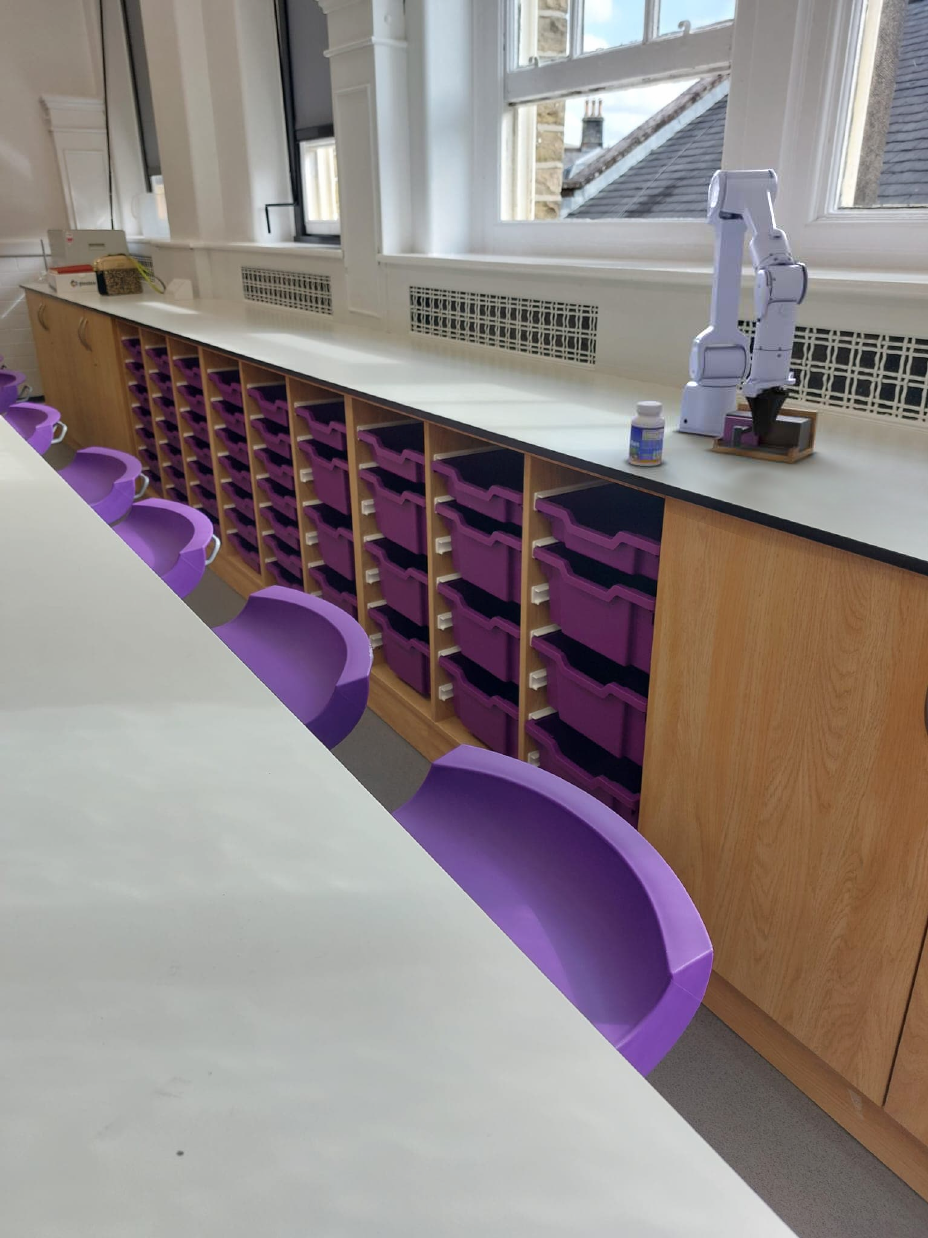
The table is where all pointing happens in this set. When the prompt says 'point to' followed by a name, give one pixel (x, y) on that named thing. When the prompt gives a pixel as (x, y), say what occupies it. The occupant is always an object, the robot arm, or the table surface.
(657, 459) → the pill bottle
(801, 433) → the sliding door box
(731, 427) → the sliding door
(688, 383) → the robot arm
